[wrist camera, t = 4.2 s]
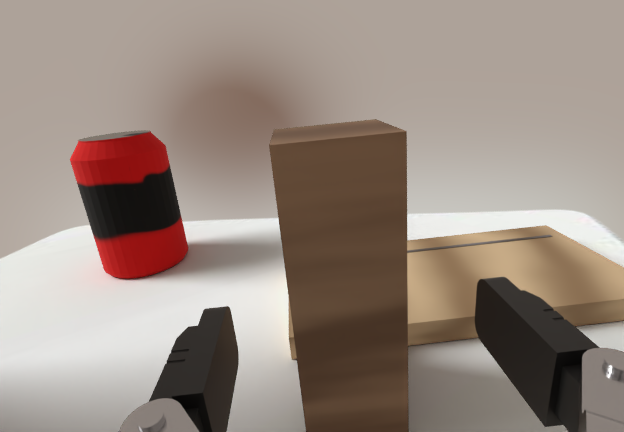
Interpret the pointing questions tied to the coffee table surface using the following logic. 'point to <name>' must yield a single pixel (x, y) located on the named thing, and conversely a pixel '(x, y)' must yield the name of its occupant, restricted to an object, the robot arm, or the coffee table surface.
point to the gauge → (346, 270)
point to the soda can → (130, 202)
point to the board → (514, 266)
